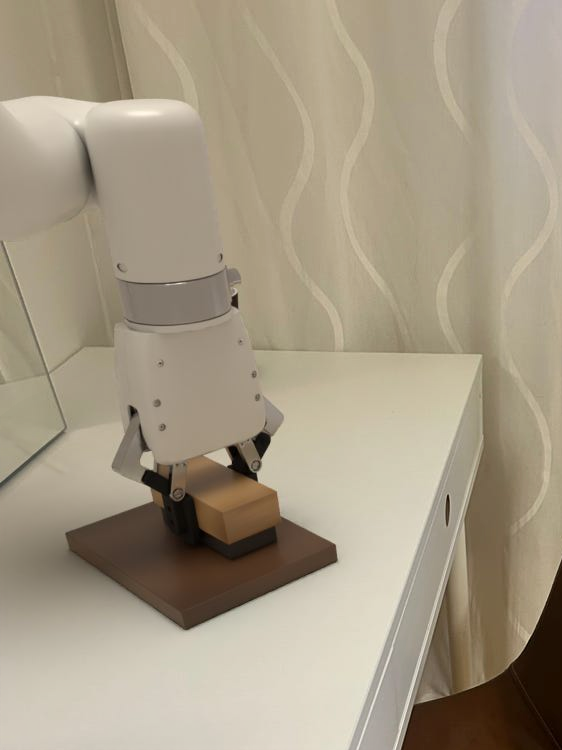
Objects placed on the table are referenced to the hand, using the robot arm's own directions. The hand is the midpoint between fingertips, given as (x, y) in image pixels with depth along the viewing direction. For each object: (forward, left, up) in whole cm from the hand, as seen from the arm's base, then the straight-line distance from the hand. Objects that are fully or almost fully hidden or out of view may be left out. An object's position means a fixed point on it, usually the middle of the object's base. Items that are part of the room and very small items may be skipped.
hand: (217, 524), depth 79 cm
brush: (0, 0, -1) cm, 1 cm away
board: (0, -2, -2) cm, 3 cm away
